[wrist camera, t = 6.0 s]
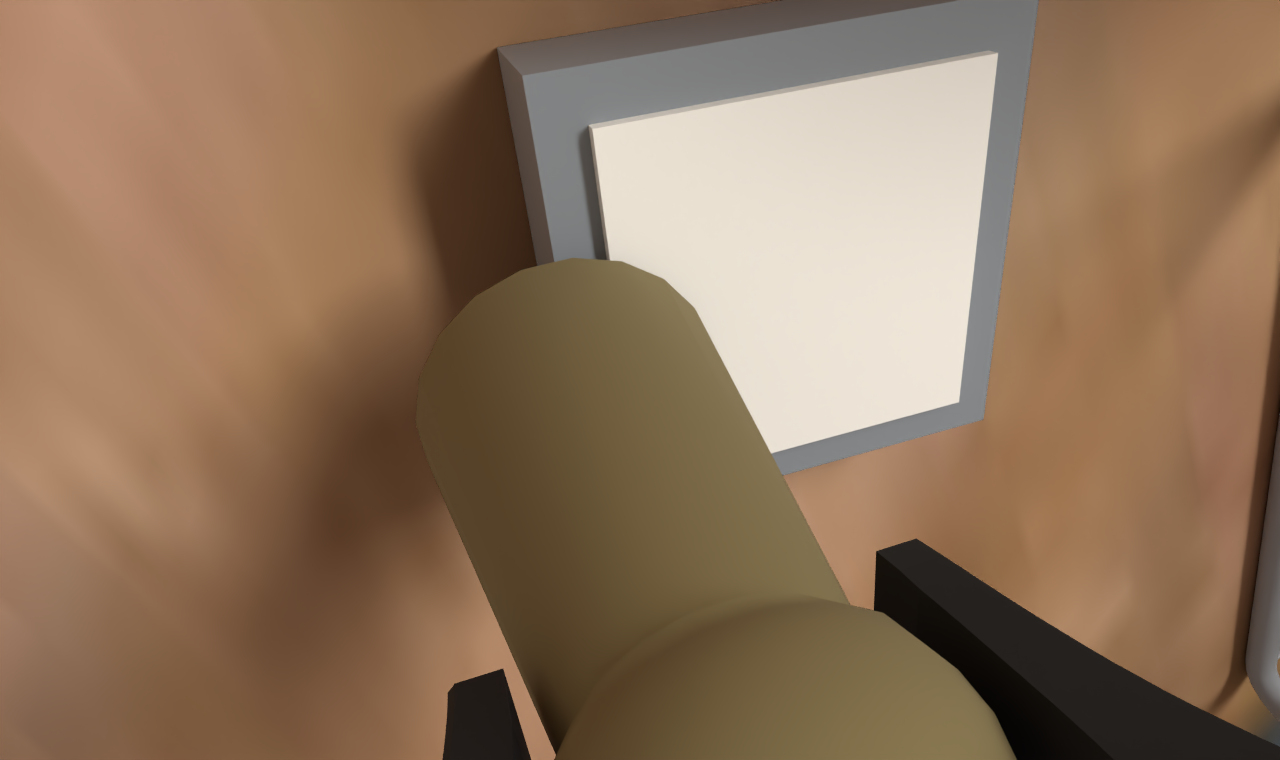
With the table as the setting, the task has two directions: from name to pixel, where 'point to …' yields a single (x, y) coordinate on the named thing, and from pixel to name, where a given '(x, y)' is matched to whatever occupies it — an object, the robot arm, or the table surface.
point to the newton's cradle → (1267, 601)
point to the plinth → (797, 195)
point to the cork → (660, 542)
